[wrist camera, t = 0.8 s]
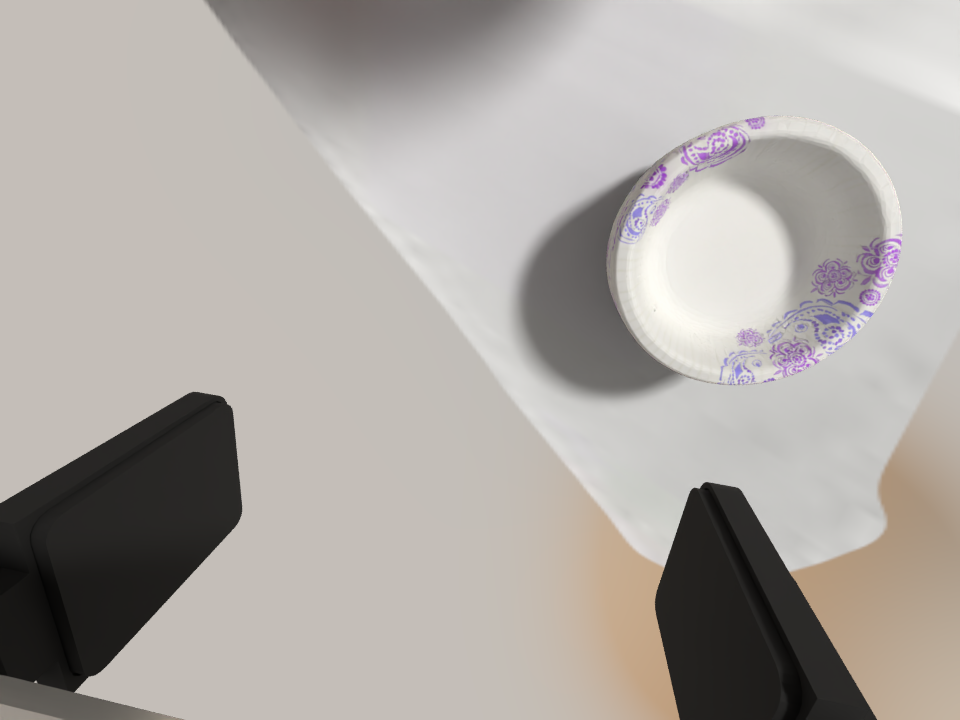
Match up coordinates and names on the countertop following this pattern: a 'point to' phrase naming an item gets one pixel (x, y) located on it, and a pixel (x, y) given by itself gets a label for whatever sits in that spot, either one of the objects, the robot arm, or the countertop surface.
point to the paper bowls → (754, 249)
